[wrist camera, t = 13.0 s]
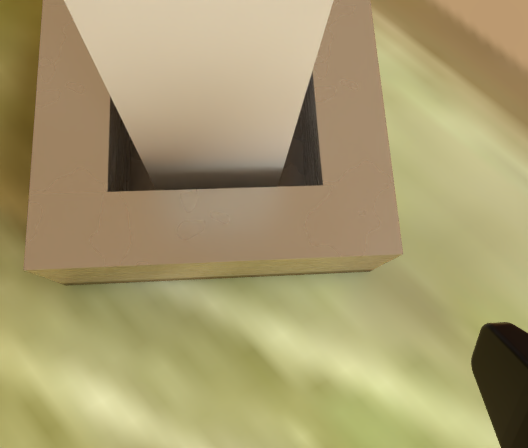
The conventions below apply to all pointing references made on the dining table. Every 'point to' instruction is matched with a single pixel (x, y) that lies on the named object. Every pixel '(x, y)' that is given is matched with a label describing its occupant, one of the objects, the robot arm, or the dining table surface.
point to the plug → (206, 82)
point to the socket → (210, 199)
